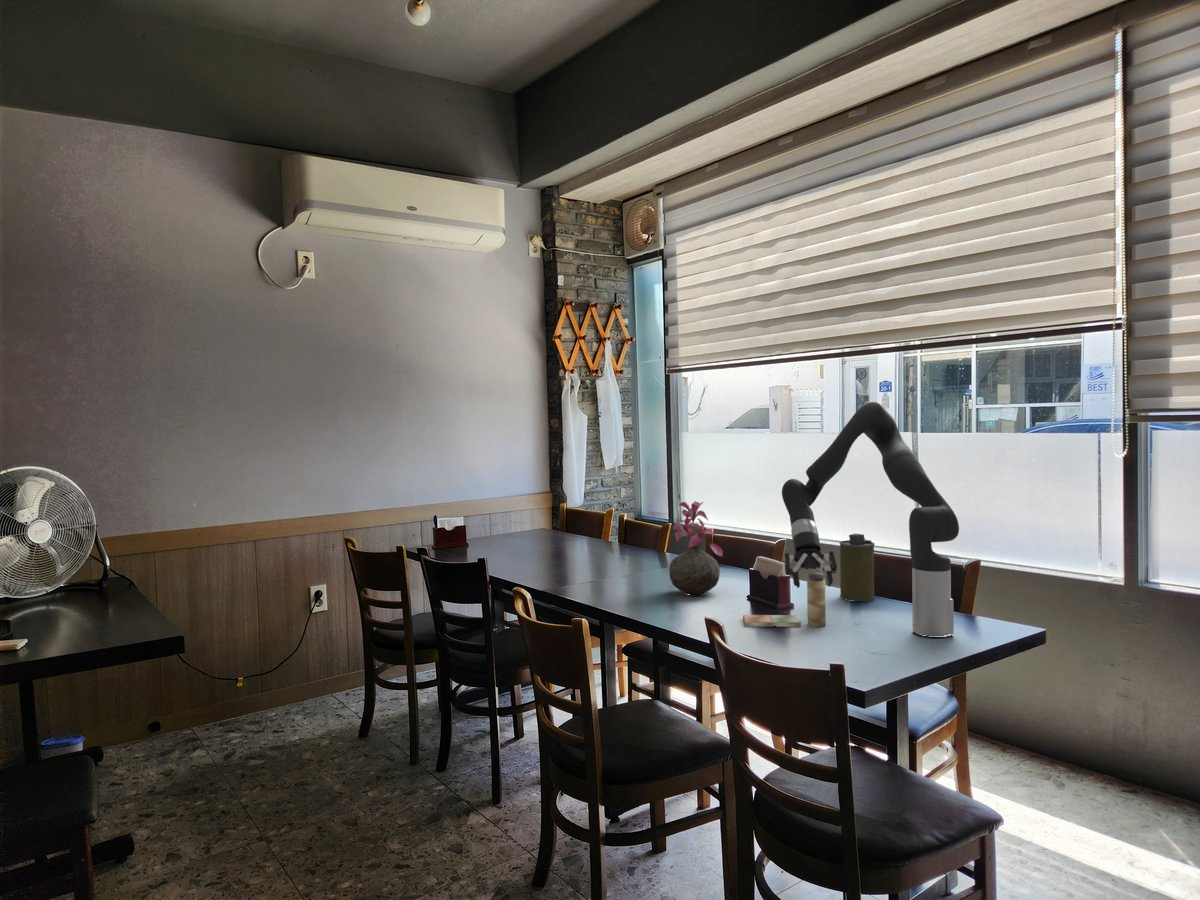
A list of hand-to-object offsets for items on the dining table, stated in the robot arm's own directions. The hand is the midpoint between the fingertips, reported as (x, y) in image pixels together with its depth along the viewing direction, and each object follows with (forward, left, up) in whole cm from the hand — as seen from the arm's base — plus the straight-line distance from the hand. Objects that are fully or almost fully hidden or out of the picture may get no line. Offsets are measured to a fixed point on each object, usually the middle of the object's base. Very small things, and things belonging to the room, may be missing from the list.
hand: (813, 585), depth 220 cm
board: (+12, +2, -10) cm, 16 cm away
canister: (-18, -28, -10) cm, 34 cm away
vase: (+32, -33, -10) cm, 47 cm away
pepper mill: (0, +4, -10) cm, 11 cm away
